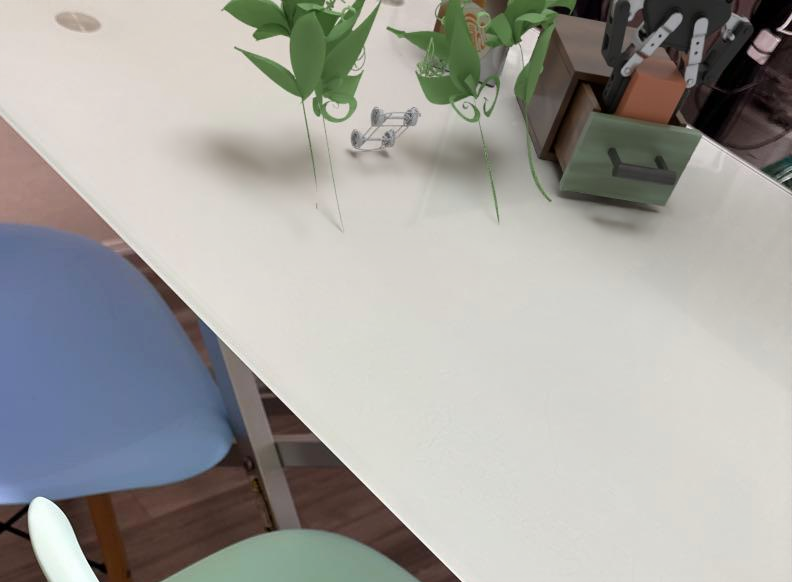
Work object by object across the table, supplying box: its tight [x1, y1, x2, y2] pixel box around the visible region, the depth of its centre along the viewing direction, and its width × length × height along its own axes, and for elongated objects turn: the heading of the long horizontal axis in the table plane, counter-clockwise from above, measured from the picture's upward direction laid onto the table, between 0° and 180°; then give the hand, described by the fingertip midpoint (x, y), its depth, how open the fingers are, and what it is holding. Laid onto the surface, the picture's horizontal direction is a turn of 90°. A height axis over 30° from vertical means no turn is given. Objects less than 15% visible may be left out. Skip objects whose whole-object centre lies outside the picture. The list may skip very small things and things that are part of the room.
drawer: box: [552, 79, 703, 207], centre depth 102 cm, size 18×11×8 cm, turn 0°
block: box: [611, 57, 687, 124], centre depth 97 cm, size 5×5×5 cm
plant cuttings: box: [220, 0, 577, 231], centre depth 93 cm, size 35×17×22 cm
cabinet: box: [515, 13, 691, 163], centre depth 108 cm, size 15×13×10 cm
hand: (635, 113), depth 99 cm, fingers closed on block, 5 cm apart
